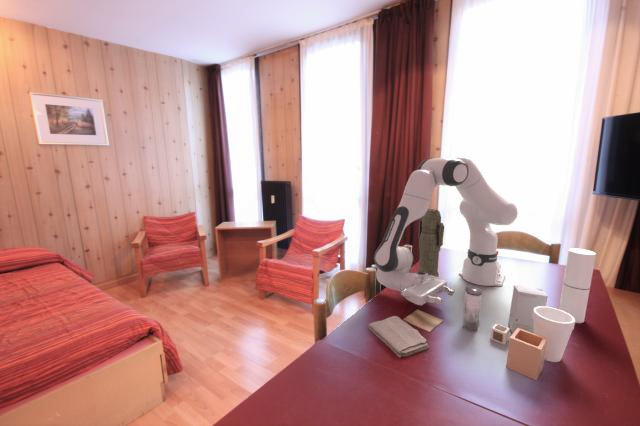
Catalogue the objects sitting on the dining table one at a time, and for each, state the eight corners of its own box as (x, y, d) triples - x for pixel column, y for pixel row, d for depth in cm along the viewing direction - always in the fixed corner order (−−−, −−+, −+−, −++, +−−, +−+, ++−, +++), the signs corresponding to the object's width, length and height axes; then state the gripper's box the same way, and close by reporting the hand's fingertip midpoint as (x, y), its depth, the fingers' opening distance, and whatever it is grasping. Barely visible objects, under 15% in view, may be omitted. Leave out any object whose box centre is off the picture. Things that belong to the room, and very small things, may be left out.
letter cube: (494, 334, 97) (495, 322, 96) (508, 339, 94) (510, 327, 93) (489, 339, 94) (490, 327, 93) (504, 345, 91) (505, 333, 90)
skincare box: (511, 333, 97) (516, 291, 94) (507, 323, 103) (512, 284, 100) (542, 338, 94) (548, 295, 91) (536, 328, 100) (542, 287, 97)
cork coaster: (417, 310, 112) (417, 309, 112) (443, 321, 104) (443, 320, 104) (403, 320, 105) (403, 319, 105) (429, 332, 98) (429, 331, 98)
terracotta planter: (513, 355, 86) (517, 327, 85) (543, 367, 81) (547, 338, 80) (506, 366, 82) (509, 337, 80) (536, 380, 77) (541, 349, 75)
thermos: (433, 294, 125) (439, 213, 118) (410, 285, 134) (414, 209, 127) (444, 288, 130) (450, 210, 124) (421, 279, 139) (425, 207, 133)
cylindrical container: (557, 317, 106) (567, 251, 101) (559, 310, 111) (569, 247, 106) (583, 325, 101) (596, 256, 96) (584, 317, 106) (596, 251, 102)
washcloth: (400, 361, 85) (401, 351, 85) (366, 328, 101) (366, 320, 101) (431, 349, 90) (432, 340, 89) (393, 320, 106) (394, 312, 105)
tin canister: (465, 321, 104) (469, 284, 101) (480, 327, 100) (484, 289, 98) (459, 327, 101) (463, 289, 98) (475, 333, 97) (478, 294, 94)
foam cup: (575, 368, 81) (583, 325, 79) (537, 363, 83) (544, 321, 80) (555, 346, 90) (562, 307, 88) (522, 343, 92) (527, 304, 90)
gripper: (398, 285, 108) (433, 298, 98) (426, 270, 121) (460, 281, 111) (397, 301, 109) (432, 315, 99) (425, 285, 123) (459, 296, 112)
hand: (447, 297), depth 105 cm, fingers open, 8 cm apart
